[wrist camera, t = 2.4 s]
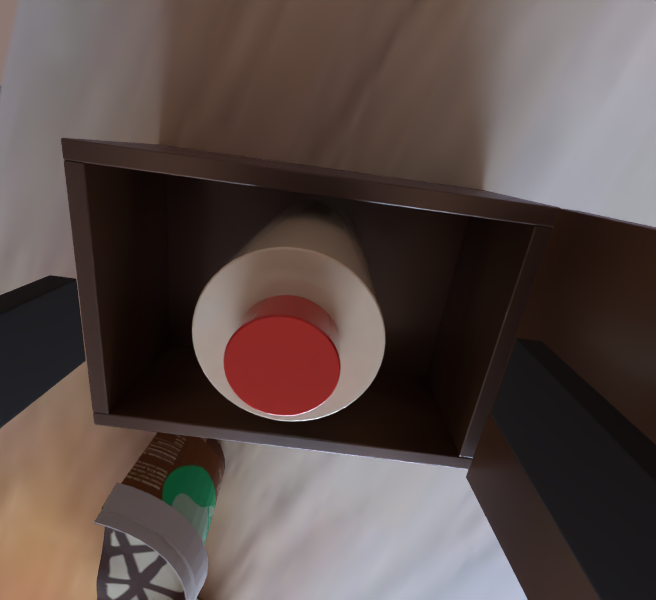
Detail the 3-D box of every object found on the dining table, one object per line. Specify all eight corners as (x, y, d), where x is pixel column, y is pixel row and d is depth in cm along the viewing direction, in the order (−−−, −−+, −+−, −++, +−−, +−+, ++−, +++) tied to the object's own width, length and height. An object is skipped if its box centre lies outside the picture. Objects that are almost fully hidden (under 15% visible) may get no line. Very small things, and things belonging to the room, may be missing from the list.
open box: (164, 347, 27) (93, 424, 19) (157, 144, 22) (60, 137, 14) (432, 381, 27) (470, 470, 20) (484, 190, 22) (561, 207, 15)
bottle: (261, 288, 24) (172, 442, 11) (268, 193, 22) (168, 245, 9) (353, 300, 24) (371, 466, 11) (368, 207, 22) (414, 278, 9)
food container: (224, 525, 33) (180, 670, 24) (155, 510, 33) (82, 652, 23) (253, 416, 29) (213, 541, 19) (174, 396, 28) (94, 515, 19)
